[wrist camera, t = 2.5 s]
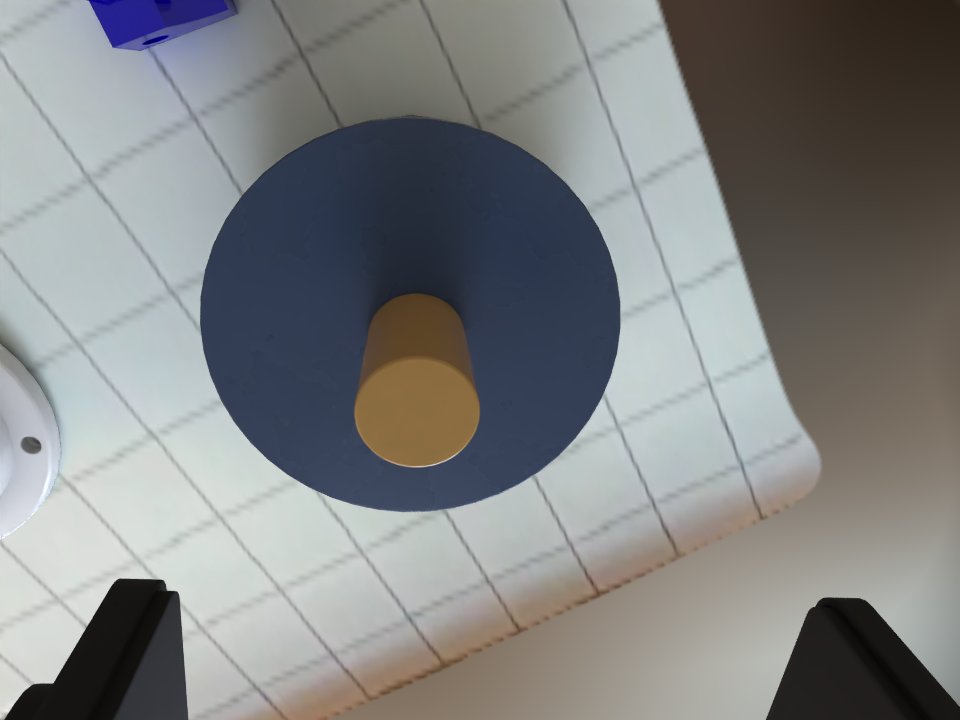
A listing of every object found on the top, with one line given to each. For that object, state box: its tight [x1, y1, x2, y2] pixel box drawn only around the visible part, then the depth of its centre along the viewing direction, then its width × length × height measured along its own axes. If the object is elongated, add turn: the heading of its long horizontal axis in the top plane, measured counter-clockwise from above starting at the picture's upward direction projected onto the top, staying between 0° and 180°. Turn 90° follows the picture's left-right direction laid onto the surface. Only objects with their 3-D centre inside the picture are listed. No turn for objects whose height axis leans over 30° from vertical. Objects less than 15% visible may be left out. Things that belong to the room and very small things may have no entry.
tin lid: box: [200, 117, 620, 512], centre depth 19 cm, size 13×13×6 cm
